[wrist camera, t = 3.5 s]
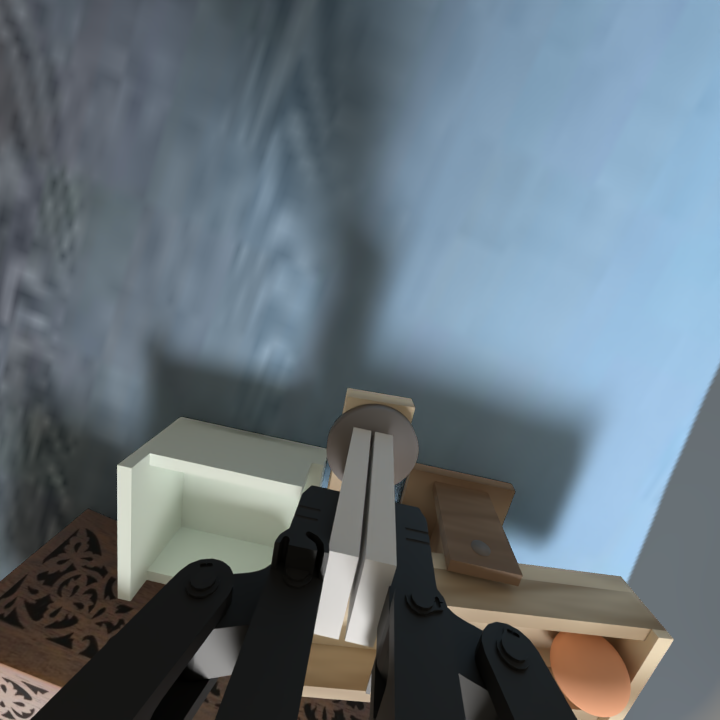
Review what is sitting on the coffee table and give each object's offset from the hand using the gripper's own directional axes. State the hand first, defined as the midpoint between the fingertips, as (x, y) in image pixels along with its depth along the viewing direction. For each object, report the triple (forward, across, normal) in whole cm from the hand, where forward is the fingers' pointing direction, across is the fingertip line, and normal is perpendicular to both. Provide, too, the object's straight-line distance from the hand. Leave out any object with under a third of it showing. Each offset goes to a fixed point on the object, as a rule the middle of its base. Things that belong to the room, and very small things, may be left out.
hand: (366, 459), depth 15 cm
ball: (+1, +14, -10) cm, 17 cm away
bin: (+8, -8, -10) cm, 15 cm away
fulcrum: (+8, +7, -10) cm, 15 cm away
